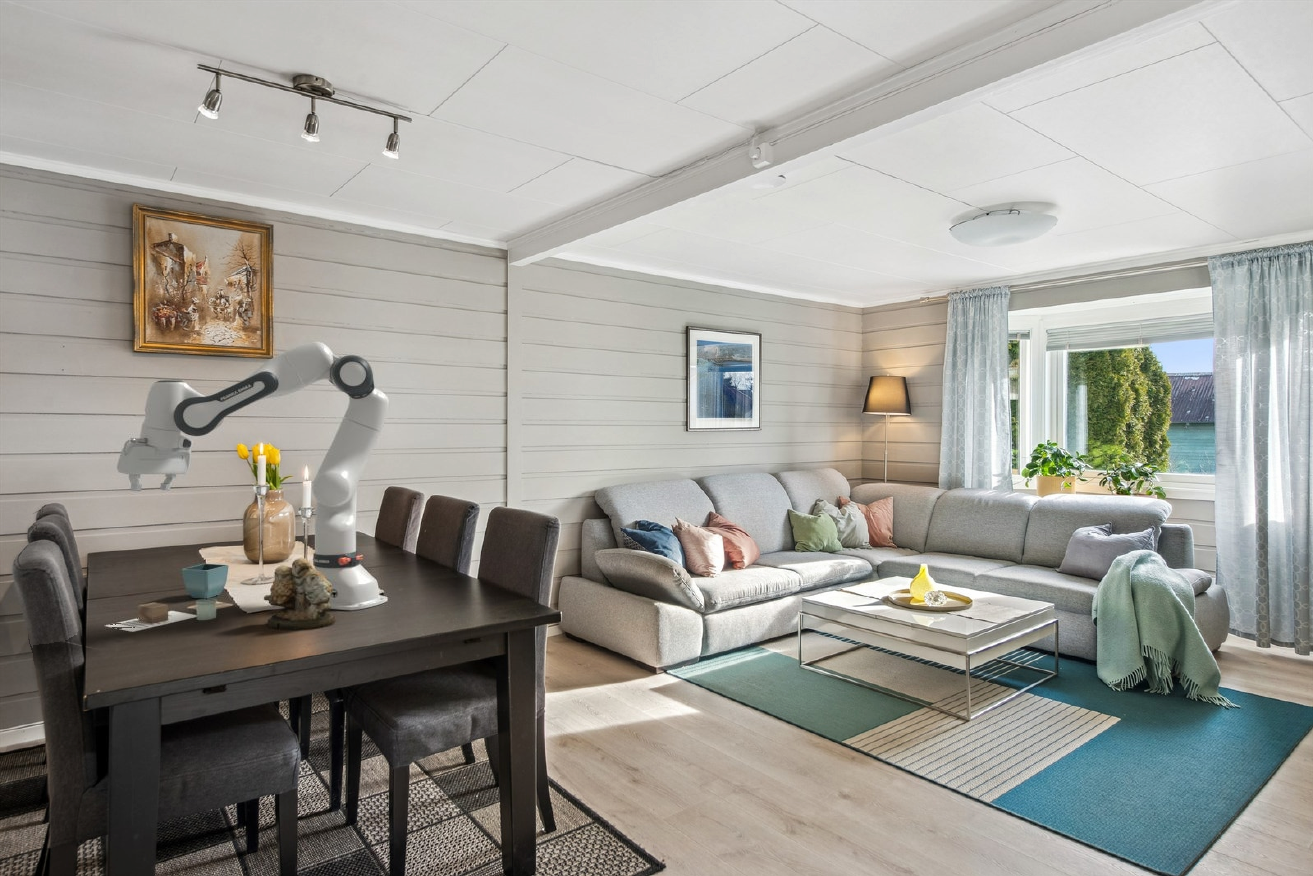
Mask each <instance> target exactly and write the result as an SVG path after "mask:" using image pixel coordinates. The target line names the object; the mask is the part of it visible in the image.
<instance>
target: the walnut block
mask: <svg viewBox="0 0 1313 876" xmlns="http://www.w3.org/2000/svg"><path fill="white" fill-rule="evenodd" d="M168 612H169V605H168V604H164V603H160V602H159V603H158V602H150V603H145V604H139V605H137V615H138V616H137V618H138V621H141V622H146V623H151V624H154V623H158V622H163V621H167V620H168Z"/></svg>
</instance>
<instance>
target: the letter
mask: <svg viewBox="0 0 1313 876" xmlns="http://www.w3.org/2000/svg"><path fill="white" fill-rule="evenodd" d="M193 618H197V614H192V613H187V612H180V611H175V610H170V611H169V610H168V620H167V621H163V622H158V623H154V624H151V623H146V622H141V621H138V619H137V618H133V619H128V620H124V621H120V622H118V623H121V624H116V625H115V624H114V623H112V624H113V625H110V624H106V625H104V627H108V628H112V627H132V628H122V629H120V630H123V631H126V632H127V631H128V632H137V631H142V630H146V629H152V628H154V627H158V626H164V625H168V624H171V623H172V624H173V623H176V622H180V621H185V620H188V619H189V620H190V619H193ZM133 627H135V628H133Z"/></svg>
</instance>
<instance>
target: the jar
mask: <svg viewBox="0 0 1313 876" xmlns="http://www.w3.org/2000/svg"><path fill="white" fill-rule="evenodd" d="M216 601H217V598H214V597H210V598H207V599H205V598H200V599H198V600H196V602H195V605H197V610H196V615H197V617H196V620H197V621H208V620H209V621H210V620H214V619H216V618H217V609H216Z"/></svg>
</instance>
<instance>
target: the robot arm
mask: <svg viewBox="0 0 1313 876" xmlns="http://www.w3.org/2000/svg"><path fill="white" fill-rule="evenodd" d="M321 380H326V381H329V382H330V383H331V384H332V385H333V386H334V387H335V388H336V389H338V391H340V392H342V393H344V394H346V395H347V396H348V397H349V398H348V399H349V402H348V405H347V409H346V411H345V413H344V416H343V418H342V420H341V422H340V425H339V426H338V429H337V431H336V433H335V435H334V437H333V440H332V442H331V445H330V446H329V449H328V450H327V453H326V454H325V456H324V458H323V461H322V462H321V465H320V467H319V468H318V470H317V472H316V476H315V477H314V480H313V482H312V489H311V491H312V494H313V497H314V498H315V500H316V506H315V507H316V508H315V518H314V519H315V522H314V553H313V557H312V564H313V565H312V566H313V567H314V569H316V571H319V572H321V573H322V575H323V576H324V577H325V578H326V580H327V581H329V582H330V583H331V585H332V586H331V588H332V590H331V591H332V593H331V596H330V599H329V602H328V604H330V605H331V609H330V610H341V611H342V610H343V611H357V610H362V609H367V608H371V607H375V606H378V605H381V604H384V603H386V602H388V597H387V596H384V595H381V594H380V592H379V584H378V580H377V579H376V578H375V577H374V576H372V574H371V573H369V571H367V570H366V569H365V568H364V567H363V566H362V564H361V563H362V561H361V560H363V559H364V558H363V556H364V555H363V554H360V555H359V553H358V552H359V551H358V550H357V499H358V498H357V497H358V484H359V482H360V480H361V477H362V475H363V473H364V470H365V468H366V466H367V464H368V461H369V460H370V457H371V455H372V453H373V450H374V449H375V448H374V447H376V444H377V441H378V439H379V436H380V435H381V432H382V429H383V427H384V424H385V423H386V419H387V415H388V411H389V408H390V407H389V406H390V401H389V398H388V396H387V395H386V394H385V393H384V392H383V391H382V390H380V389H377V388H376V387H375V381H374V372H373V369H372V367H371V365H370V363H369V362H368V361H367V360H366V359H364V357H361V356H359V355H356V354H354V355H353V354H347V355H344V356H337V355H336V354H334V353H333V351H332V350H331V349H330V347H329V346H328V345H326V344H325V343H323V342H321V341H311V342H308V343H303V344H301V345H297V346H295V347H292V348H290V349H288V350H285V351H284V352H281V353H280V354H277V355H276V356H275V357H273V358H271V359H269V360H268V361H267V362H265V363H264V364H262V365H261V366H260V367H259V368H257V369H256V370H255V371H253V373H251V374H250V375H249V376H247V377H246V378H244V379H243V380H242V381H240V382H237V383H235V384H233V385H231V386H228V387H226V388H224V389H222V390H220V391H218V392H216V393H213V394H211V395H208V396H206V395H204V394H202V393H200V392H198V391H197V390H195V389H194V388H192V387H191V386H190V385H189V384H188V383H187V382H186V381H183V380H173V379H171V380H170V379H169V380H168V379H165V380H162V379H161V380H158V381H155V382H154V383H153V384H152V385H151V386H150V389H149V391H148V394H147V397H146V402H145V407H144V412H145V417H144V420H143V422H142V424H141V429H140V430H141V431H140V435H139V437H138V438H136V437H131V438H129V439H128V440H127V441H125V442H124V445H123V448H122V449H121V452H120V454H119V456H118V457H119V458H118V462H117V465H116V469H117V471H118V473H121V474H124V475H125V474H126V475H128V479H129V482H130V484H131V485H130V491H132V492H141V491H142V486H143V485H142V484H140V482H139V479H141V475H164V477H165V479H164V481H163V482H161V483H160V487H159V489H160V490H161V491H169V490H170V489H171V485H172V483H173V482H174V481H175V479H176V478H177V475H185V474H187V473H188V472H189V471H190V466H191V464H192V463H191V461H192V450H191V449H192V448H193V447H194V445H195V444H194V441H193V439H189V438H187V437H185V436H184V435H182V434H181V433H184V434H186V435H187V436H191V437H202V436H205V435H207V434H210V433H211V432H213V431H214V430H216V429H217V428H219V427H220V426H221V425H222V424H223V422H224V418H226V417H227V416H229V415H231V414H233V413H235V412H237V411H239V410H240V409H243V408H245V407H247V406H249V405H251V404H253V403H256V402H258V401H261V400H265V399H271V398H278V397H283V396H286V395H290V394H291V393H295V392H297V391H300V390H302V389H304V388H306V387H308V386H309V385H312V384H314V383H317V382H319V381H321ZM361 557H362V558H361Z"/></svg>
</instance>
